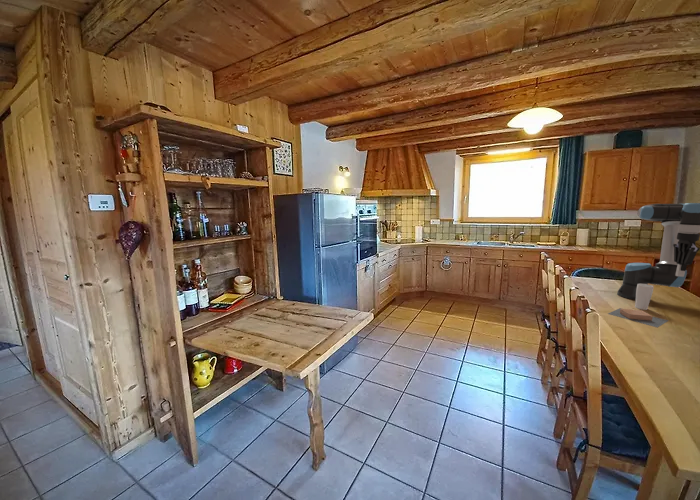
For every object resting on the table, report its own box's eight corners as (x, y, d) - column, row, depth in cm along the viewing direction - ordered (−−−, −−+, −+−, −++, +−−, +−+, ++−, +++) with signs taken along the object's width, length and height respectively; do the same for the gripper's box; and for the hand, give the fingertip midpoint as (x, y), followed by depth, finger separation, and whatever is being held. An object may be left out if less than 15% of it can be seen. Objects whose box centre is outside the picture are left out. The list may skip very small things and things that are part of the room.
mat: (619, 309, 167) (620, 308, 167) (668, 321, 150) (668, 320, 150) (607, 314, 160) (607, 313, 159) (657, 328, 142) (657, 327, 142)
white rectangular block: (641, 307, 170) (646, 283, 168) (652, 311, 164) (657, 287, 161) (629, 306, 171) (634, 283, 168) (639, 311, 164) (644, 286, 162)
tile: (642, 310, 156) (620, 308, 159) (652, 316, 149) (629, 314, 152) (641, 315, 157) (619, 313, 160) (651, 321, 149) (628, 318, 152)
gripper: (709, 234, 138) (699, 280, 143) (687, 231, 150) (678, 273, 155) (690, 234, 140) (680, 278, 145) (669, 231, 153) (661, 272, 157)
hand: (679, 276), depth 150 cm, fingers closed
